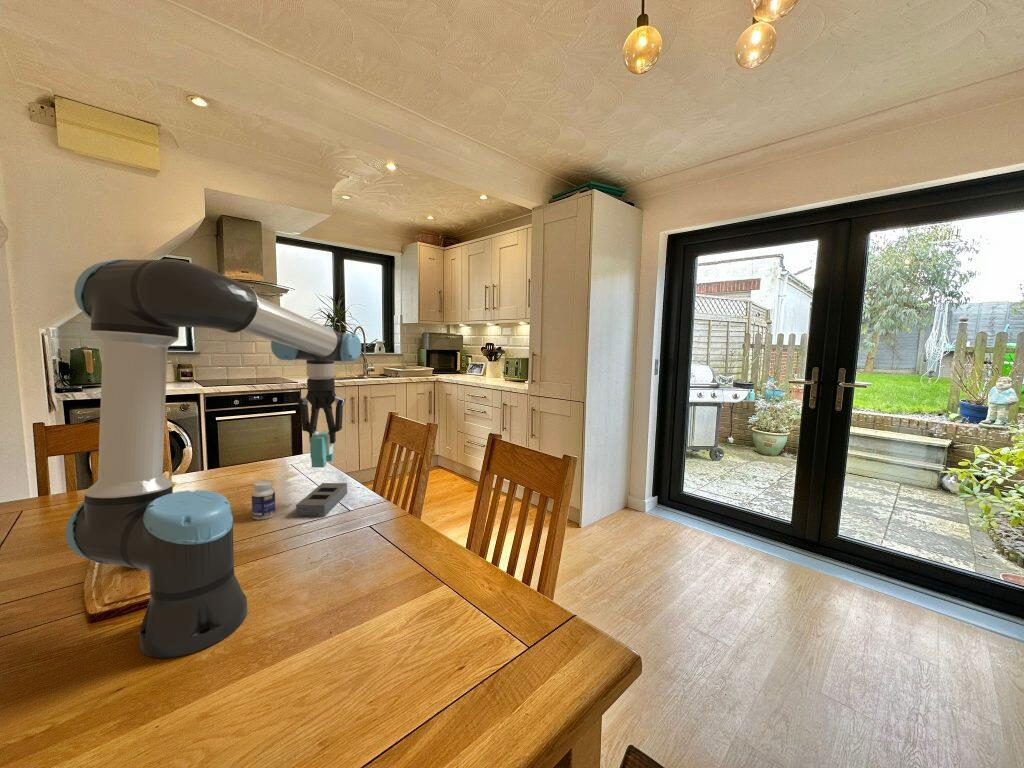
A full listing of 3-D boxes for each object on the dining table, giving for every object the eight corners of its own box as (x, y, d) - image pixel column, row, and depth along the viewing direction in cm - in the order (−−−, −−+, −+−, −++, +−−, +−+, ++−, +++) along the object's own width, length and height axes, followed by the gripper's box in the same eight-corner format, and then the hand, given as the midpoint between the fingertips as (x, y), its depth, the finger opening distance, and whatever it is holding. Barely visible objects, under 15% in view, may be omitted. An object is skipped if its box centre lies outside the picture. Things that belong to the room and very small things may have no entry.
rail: (324, 516, 117) (324, 505, 117) (296, 516, 117) (296, 504, 117) (347, 493, 135) (347, 483, 135) (322, 493, 135) (322, 482, 134)
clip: (322, 467, 120) (322, 438, 119) (310, 467, 120) (309, 438, 119) (334, 458, 129) (334, 431, 128) (323, 458, 129) (322, 431, 128)
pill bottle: (267, 520, 114) (266, 486, 113) (247, 520, 114) (246, 485, 113) (279, 512, 120) (278, 479, 119) (260, 511, 120) (259, 478, 119)
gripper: (353, 376, 126) (354, 450, 129) (298, 375, 125) (301, 449, 128) (344, 379, 118) (346, 457, 121) (286, 378, 118) (289, 456, 120)
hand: (323, 453), depth 124 cm, fingers closed on clip, 3 cm apart
